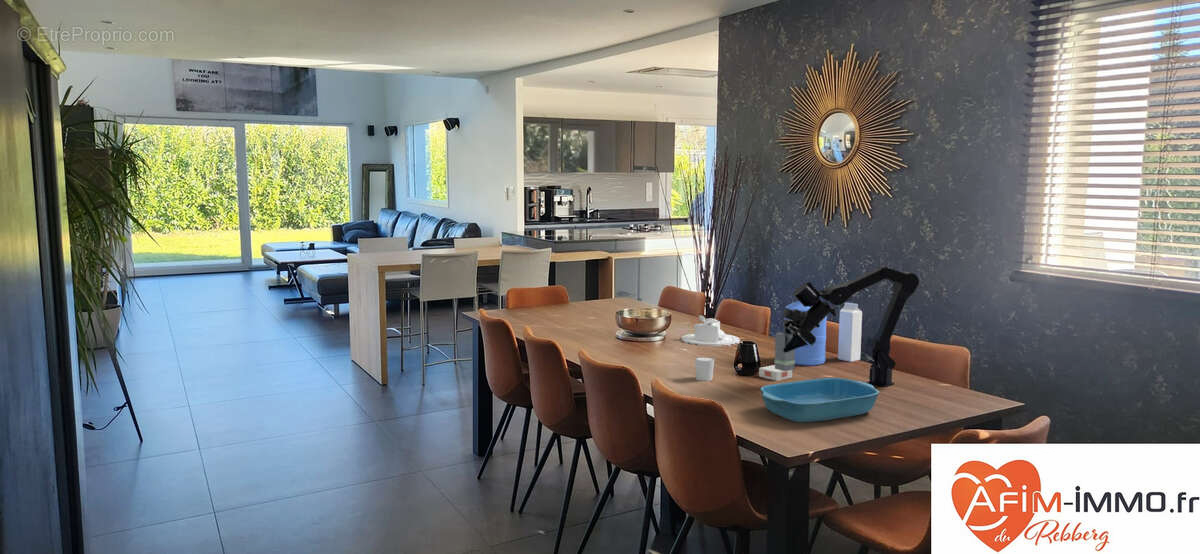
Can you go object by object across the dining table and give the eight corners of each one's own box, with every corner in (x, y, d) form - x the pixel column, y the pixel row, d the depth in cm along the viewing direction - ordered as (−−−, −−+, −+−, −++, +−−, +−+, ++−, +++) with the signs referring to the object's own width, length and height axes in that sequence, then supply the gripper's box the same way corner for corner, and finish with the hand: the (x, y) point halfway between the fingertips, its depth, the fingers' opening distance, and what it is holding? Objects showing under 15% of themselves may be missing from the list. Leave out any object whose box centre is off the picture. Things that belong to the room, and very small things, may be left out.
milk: (850, 362, 309) (853, 304, 307) (837, 359, 314) (839, 302, 311) (860, 359, 313) (862, 303, 310) (847, 357, 318) (849, 301, 315)
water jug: (810, 356, 319) (812, 285, 316) (833, 364, 305) (836, 290, 301) (775, 358, 315) (777, 287, 311) (797, 367, 300) (799, 292, 296)
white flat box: (792, 377, 284) (792, 369, 284) (776, 380, 279) (777, 372, 279) (774, 373, 290) (774, 364, 290) (758, 376, 285) (759, 368, 285)
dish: (725, 349, 333) (725, 322, 332) (671, 342, 347) (671, 316, 346) (748, 339, 354) (749, 314, 353) (697, 333, 368) (697, 309, 366)
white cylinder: (718, 378, 282) (718, 358, 281) (706, 382, 277) (706, 362, 276) (701, 375, 287) (702, 356, 286) (690, 378, 282) (690, 359, 281)
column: (794, 369, 271) (795, 334, 269) (784, 371, 268) (785, 335, 267) (784, 366, 275) (785, 331, 273) (774, 368, 272) (775, 333, 271)
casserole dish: (790, 429, 225) (791, 404, 224) (745, 409, 245) (745, 385, 244) (893, 414, 240) (894, 391, 239) (842, 396, 260) (843, 374, 259)
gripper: (788, 295, 278) (756, 328, 279) (807, 303, 260) (773, 338, 260) (810, 318, 280) (778, 350, 280) (830, 327, 262) (796, 362, 262)
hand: (780, 349), depth 271 cm, fingers closed on column, 6 cm apart
